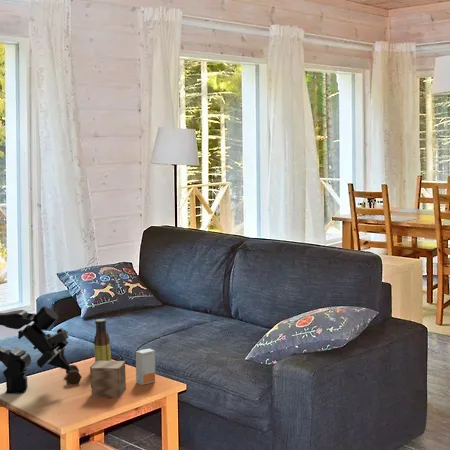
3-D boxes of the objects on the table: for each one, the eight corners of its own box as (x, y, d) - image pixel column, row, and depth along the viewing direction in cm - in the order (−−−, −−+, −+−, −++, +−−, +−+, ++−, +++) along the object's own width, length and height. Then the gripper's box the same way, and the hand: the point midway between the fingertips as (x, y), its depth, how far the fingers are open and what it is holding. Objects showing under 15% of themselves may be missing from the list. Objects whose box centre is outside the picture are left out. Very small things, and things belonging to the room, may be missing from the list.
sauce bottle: (106, 365, 292) (104, 317, 290) (114, 369, 288) (112, 319, 286) (91, 369, 288) (90, 319, 286) (99, 372, 284) (98, 322, 282)
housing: (90, 396, 256) (89, 367, 255) (97, 388, 265) (96, 360, 264) (119, 397, 255) (119, 368, 254) (125, 388, 264) (125, 360, 263)
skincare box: (142, 385, 267) (141, 353, 266) (135, 382, 270) (135, 351, 269) (156, 381, 271) (155, 350, 270) (149, 379, 274) (148, 348, 273)
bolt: (74, 377, 284) (76, 388, 270) (62, 372, 283) (63, 382, 269) (81, 364, 285) (83, 374, 270) (69, 358, 283) (71, 368, 269)
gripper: (44, 329, 250) (77, 361, 250) (62, 317, 268) (92, 347, 268) (23, 351, 251) (55, 383, 251) (42, 337, 270) (72, 367, 270)
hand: (69, 369), depth 260 cm, fingers closed
